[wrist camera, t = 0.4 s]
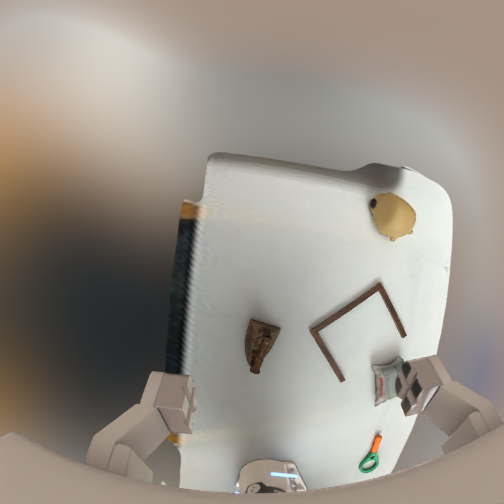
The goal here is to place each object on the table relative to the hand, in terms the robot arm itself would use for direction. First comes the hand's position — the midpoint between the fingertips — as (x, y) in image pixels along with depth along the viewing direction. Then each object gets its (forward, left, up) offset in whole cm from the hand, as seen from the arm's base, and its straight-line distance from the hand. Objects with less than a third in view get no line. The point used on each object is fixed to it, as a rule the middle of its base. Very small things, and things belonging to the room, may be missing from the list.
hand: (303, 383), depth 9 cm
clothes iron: (-11, +9, -53) cm, 55 cm away
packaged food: (-38, -13, -53) cm, 67 cm away
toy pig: (-2, -33, -53) cm, 63 cm away
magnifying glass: (-61, 0, -53) cm, 81 cm away
